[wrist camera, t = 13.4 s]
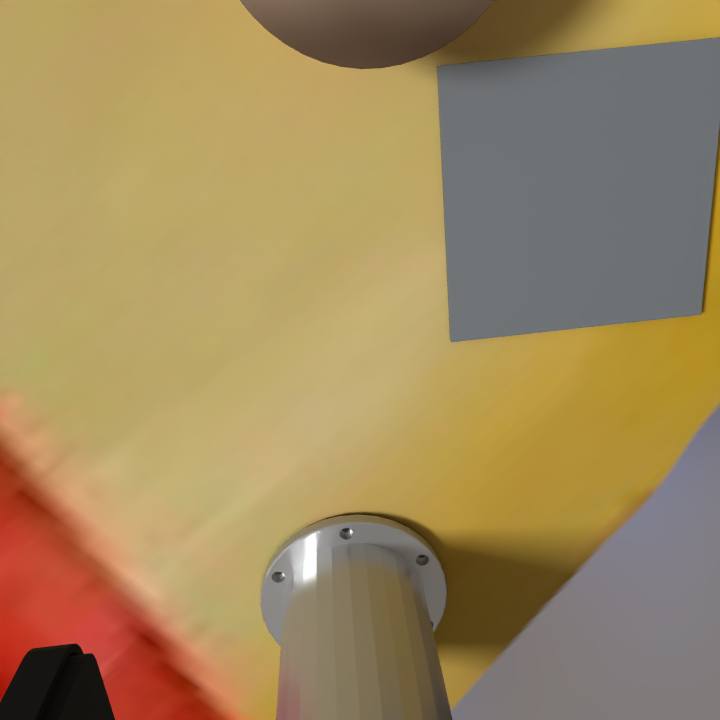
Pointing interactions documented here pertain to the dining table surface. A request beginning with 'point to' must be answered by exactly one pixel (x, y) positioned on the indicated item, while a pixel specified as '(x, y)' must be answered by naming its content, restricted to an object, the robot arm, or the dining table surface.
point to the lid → (366, 27)
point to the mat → (578, 186)
